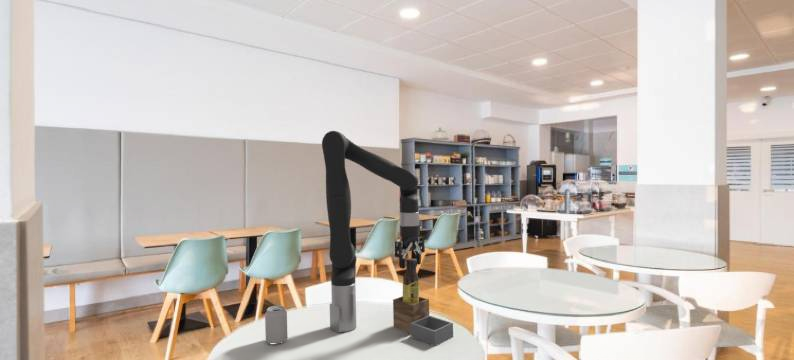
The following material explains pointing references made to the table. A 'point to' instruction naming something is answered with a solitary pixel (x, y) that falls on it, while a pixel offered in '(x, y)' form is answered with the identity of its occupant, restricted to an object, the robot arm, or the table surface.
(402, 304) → the box
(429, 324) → the low holder
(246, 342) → the table surface
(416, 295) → the sauce bottle
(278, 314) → the can
